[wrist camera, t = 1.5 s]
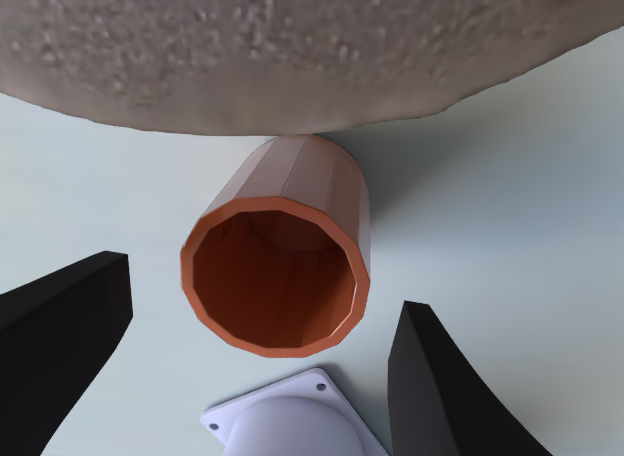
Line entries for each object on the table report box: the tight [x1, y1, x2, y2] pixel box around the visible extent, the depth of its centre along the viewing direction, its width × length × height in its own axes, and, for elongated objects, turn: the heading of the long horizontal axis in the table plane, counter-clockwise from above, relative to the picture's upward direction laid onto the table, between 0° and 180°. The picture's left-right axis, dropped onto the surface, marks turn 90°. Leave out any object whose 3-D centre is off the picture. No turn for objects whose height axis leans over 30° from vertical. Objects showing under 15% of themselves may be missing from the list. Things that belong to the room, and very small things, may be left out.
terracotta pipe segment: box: [180, 134, 370, 358], centre depth 15 cm, size 5×6×6 cm
